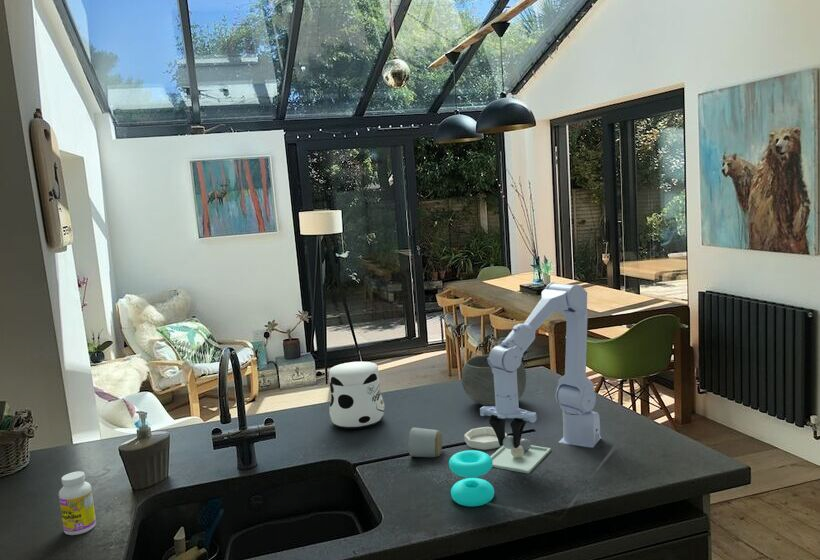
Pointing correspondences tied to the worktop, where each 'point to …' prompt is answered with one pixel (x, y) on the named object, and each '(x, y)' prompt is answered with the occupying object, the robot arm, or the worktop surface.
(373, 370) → the milk container
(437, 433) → the ceramic mug
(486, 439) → the stoneware bowl
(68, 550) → the worktop surface
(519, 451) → the beige round ball
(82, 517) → the supplement bottle
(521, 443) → the pebble slate
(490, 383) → the bowl
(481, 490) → the donuts
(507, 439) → the pebble grey
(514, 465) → the parts tray
